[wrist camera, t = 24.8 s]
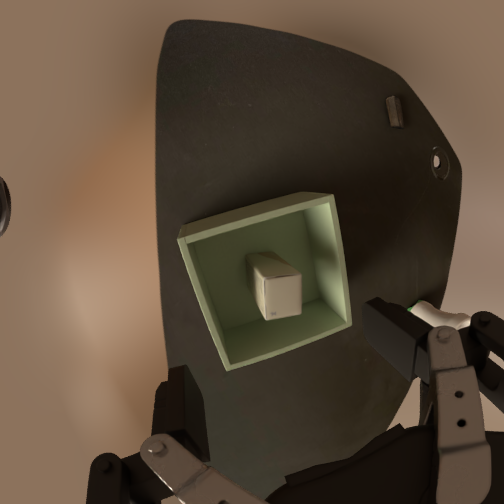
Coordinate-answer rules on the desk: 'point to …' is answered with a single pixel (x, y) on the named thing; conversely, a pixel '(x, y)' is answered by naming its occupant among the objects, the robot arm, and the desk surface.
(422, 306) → the cup
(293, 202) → the bin
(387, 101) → the block
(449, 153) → the desk surface
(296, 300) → the box
